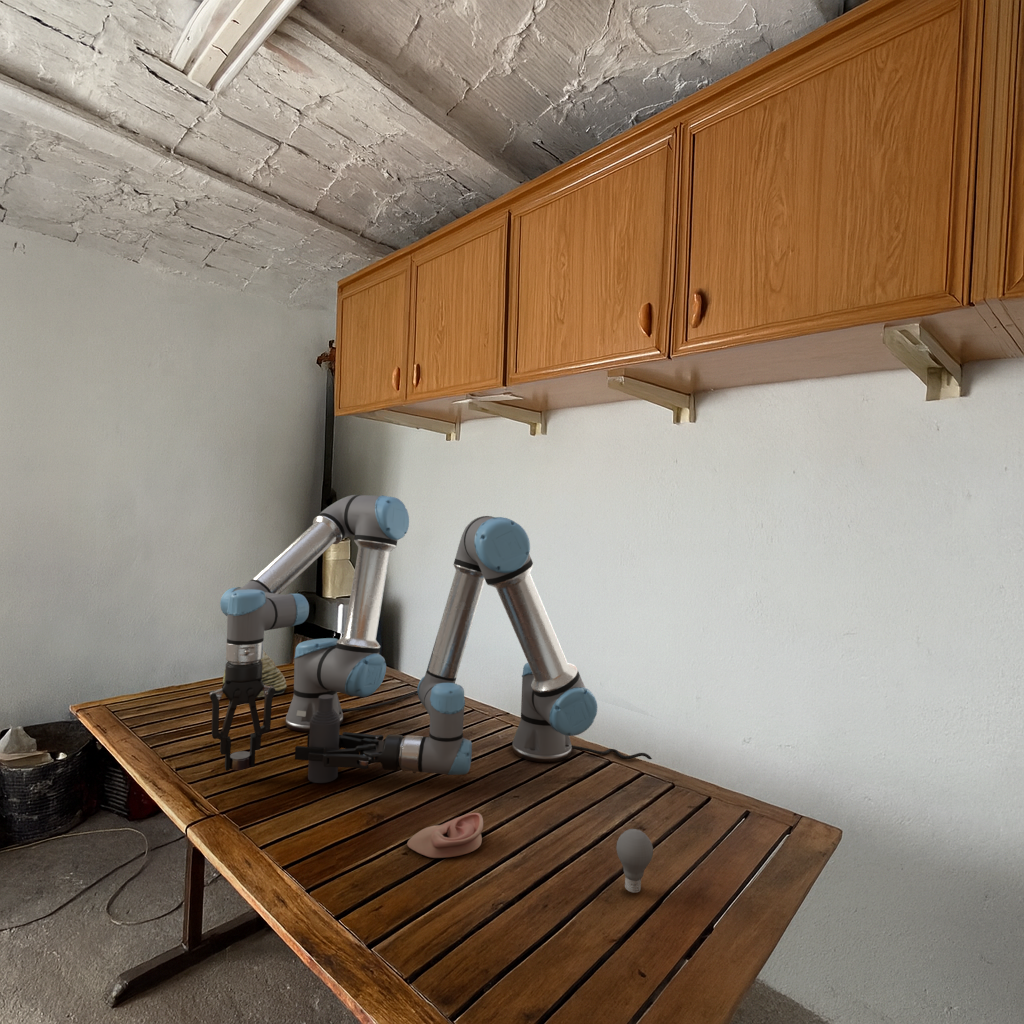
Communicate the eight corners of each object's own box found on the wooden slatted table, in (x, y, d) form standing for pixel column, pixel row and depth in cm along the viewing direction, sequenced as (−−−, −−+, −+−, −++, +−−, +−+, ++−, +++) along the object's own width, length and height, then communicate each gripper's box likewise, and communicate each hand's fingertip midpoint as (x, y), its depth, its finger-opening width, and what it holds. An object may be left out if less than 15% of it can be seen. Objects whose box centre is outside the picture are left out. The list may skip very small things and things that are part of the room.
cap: (246, 760, 143) (246, 749, 143) (253, 767, 139) (254, 756, 139) (225, 765, 140) (226, 754, 140) (232, 772, 136) (233, 760, 136)
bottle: (329, 784, 139) (332, 702, 139) (302, 781, 141) (305, 699, 140) (342, 772, 146) (345, 693, 145) (316, 769, 147) (319, 691, 147)
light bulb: (610, 879, 108) (613, 822, 108) (644, 879, 109) (647, 822, 109) (619, 902, 102) (622, 840, 102) (655, 901, 103) (658, 840, 103)
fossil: (218, 695, 195) (220, 647, 195) (278, 685, 208) (279, 640, 207) (228, 703, 189) (230, 653, 188) (289, 692, 201) (290, 645, 201)
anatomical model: (401, 831, 114) (423, 801, 125) (400, 853, 114) (422, 821, 125) (472, 842, 111) (488, 811, 122) (471, 864, 111) (487, 831, 122)
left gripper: (201, 668, 132) (196, 779, 132) (288, 661, 140) (284, 766, 140) (199, 659, 138) (194, 766, 138) (282, 653, 147) (278, 754, 147)
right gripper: (391, 789, 132) (283, 781, 134) (411, 752, 152) (317, 746, 153) (392, 753, 132) (284, 746, 134) (412, 721, 152) (318, 715, 153)
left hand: (239, 766), depth 139 cm, fingers closed on cap, 4 cm apart
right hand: (302, 746), depth 143 cm, fingers closed on bottle, 6 cm apart
